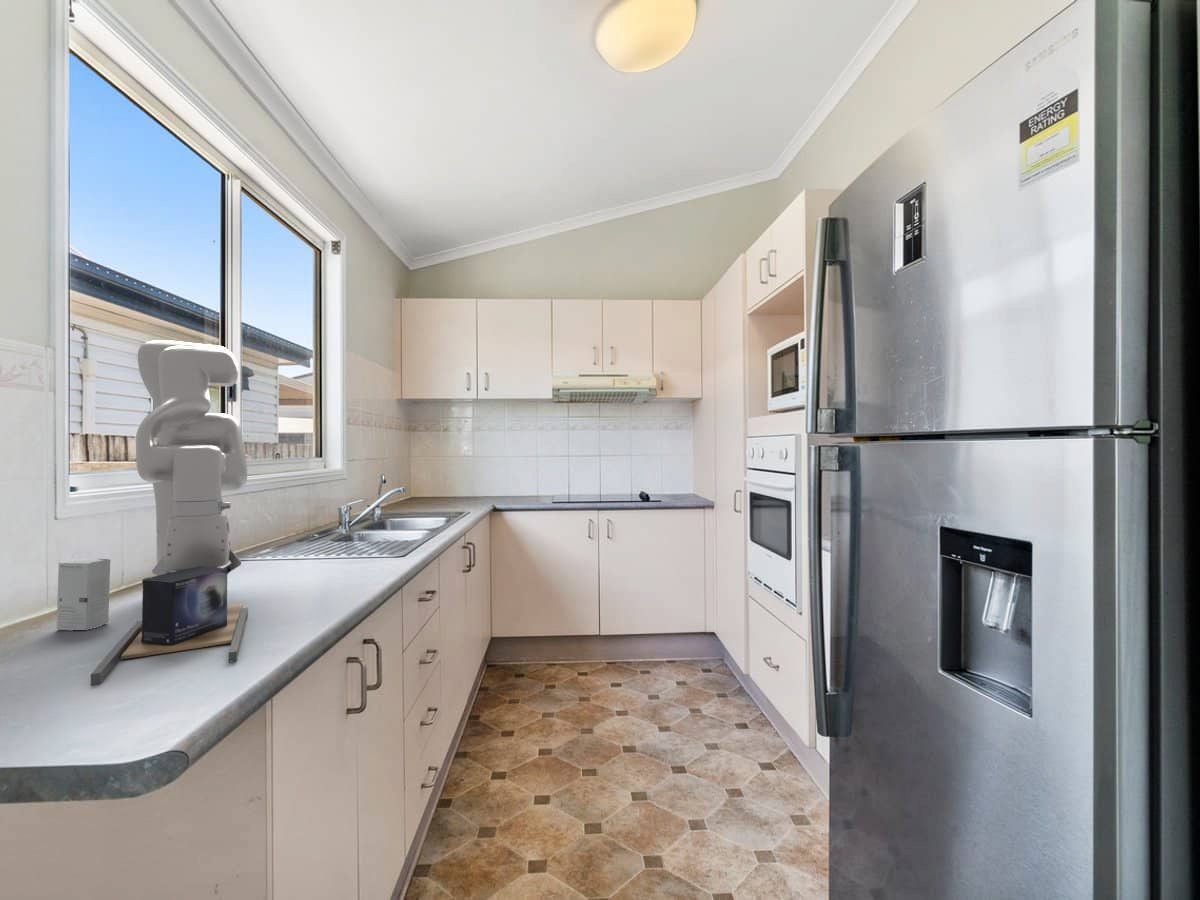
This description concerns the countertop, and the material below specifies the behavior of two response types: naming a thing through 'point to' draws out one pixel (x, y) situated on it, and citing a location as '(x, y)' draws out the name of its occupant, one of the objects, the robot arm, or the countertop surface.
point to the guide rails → (129, 637)
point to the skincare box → (83, 593)
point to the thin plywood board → (204, 640)
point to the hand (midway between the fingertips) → (198, 602)
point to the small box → (183, 604)
